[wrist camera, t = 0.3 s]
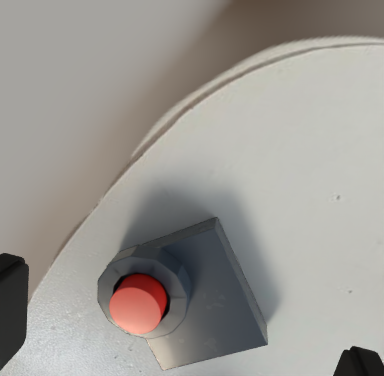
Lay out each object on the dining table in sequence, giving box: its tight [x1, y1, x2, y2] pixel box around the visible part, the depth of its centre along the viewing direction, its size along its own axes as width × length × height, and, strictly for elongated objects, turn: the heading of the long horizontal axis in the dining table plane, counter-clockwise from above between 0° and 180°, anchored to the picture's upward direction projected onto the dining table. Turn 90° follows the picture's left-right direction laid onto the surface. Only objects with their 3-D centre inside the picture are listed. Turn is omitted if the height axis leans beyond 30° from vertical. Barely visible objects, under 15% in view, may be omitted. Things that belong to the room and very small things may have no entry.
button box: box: [98, 217, 268, 370], centre depth 25 cm, size 11×10×4 cm
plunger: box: [109, 274, 167, 334], centre depth 23 cm, size 4×4×2 cm
